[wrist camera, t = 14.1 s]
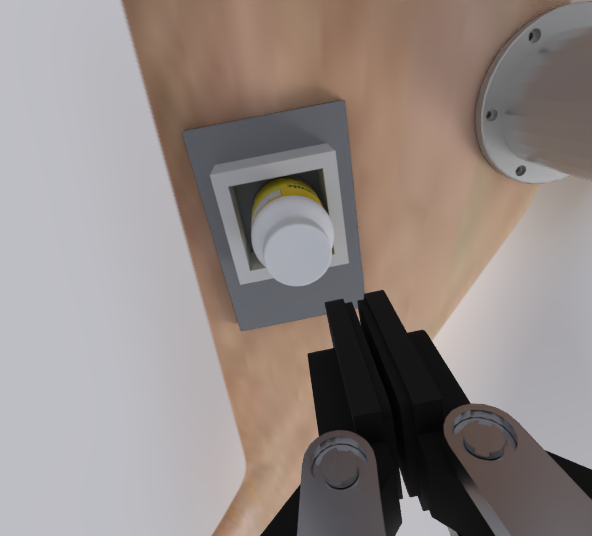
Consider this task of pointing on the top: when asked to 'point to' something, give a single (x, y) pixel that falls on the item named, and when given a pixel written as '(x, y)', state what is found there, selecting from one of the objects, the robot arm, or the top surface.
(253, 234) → the supplement bottle
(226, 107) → the top surface
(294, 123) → the collar stand
